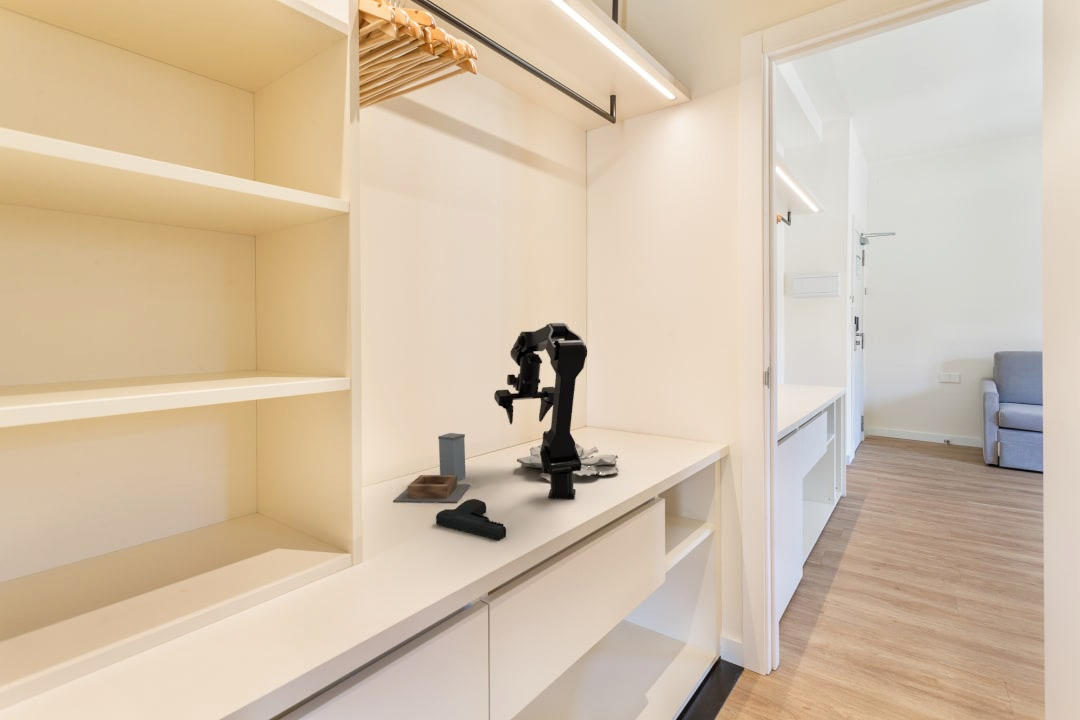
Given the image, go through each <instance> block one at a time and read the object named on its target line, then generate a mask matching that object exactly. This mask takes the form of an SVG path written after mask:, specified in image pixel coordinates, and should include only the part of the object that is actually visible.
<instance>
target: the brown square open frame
mask: <svg viewBox="0 0 1080 720" xmlns="http://www.w3.org/2000/svg"><path fill="white" fill-rule="evenodd" d="M458 482H459V481H458V479H457V475H440V474H433V475H432V474H420V475H419V476H418V477H417V478H415V479H414V480H413V481H411V482H410V483H408V485H407V488H408V498H448V497H449V496H450V495H451V494H452V492H453V491H454V490H455V489H456V488H457V487H458V484H459V483H458Z"/></svg>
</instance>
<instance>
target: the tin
mask: <svg viewBox="0 0 1080 720" xmlns="http://www.w3.org/2000/svg"><path fill="white" fill-rule="evenodd" d="M465 435H466V434H465V433H456V432H448V433H445V434H442V435H438V436H437V439H438V447H439V448H438V453H439V454H438V455H439V457H438V459H439V475H457V479H458V482H460V481H463V480H465V479H466V476H467V475H466V451H465V449H466V447H465V446H466V444H465Z"/></svg>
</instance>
